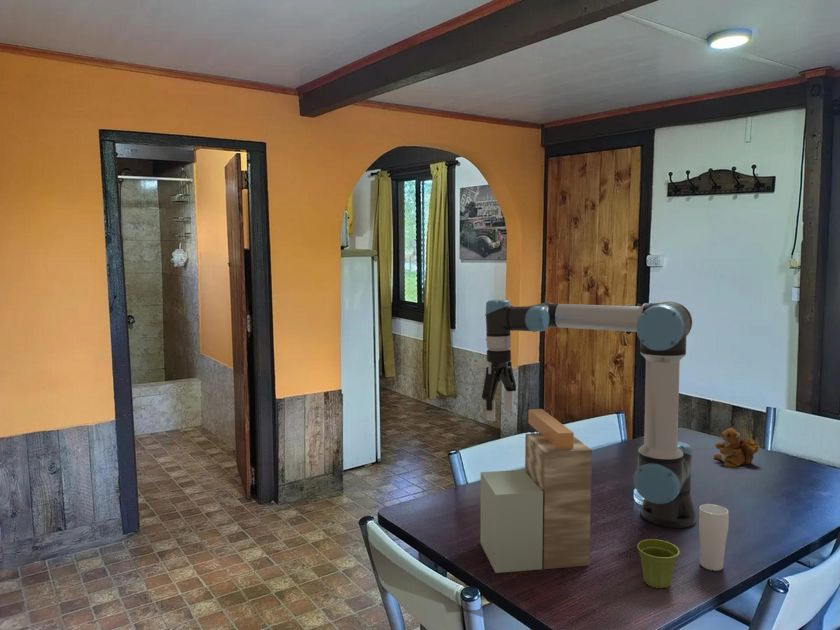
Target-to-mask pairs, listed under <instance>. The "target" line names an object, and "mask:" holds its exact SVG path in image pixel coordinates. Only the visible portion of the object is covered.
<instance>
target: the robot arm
mask: <svg viewBox="0 0 840 630" xmlns="http://www.w3.org/2000/svg"><path fill="white" fill-rule="evenodd" d="M485 324H486V325H485V326H486V328H485V329H486V330H485V331H486V335H485V336H486V338H485V341H486V349H487V350H486V361H487V362H488V363H490V364H491V365H490V366H486V368H485V378H484V383H483V384H484V385H483V389H482V394H481V398H482V400H483V401H484V400H485V412H486V413H485V414H486V415H485V418H486V419H485V420H486V421H489V422H495V421H496V399H494V398H495V395H496V392H497V388H498V384H499V382H502V384H503V386H504V389H505V390H504V411H505V412H511V413H512V412H514V392H516V391H517V384H516V380H515V375H514V372H513V367H512V366H513V365H512V352H511V351H512V350H511V347H512V345H511V344H512V342H511V331H512V332H514V331H517V332H522V331H523V332H533V333H536V332H545V331H546V330H547V329H548V328H563V329H564V328H566V329H567V328H568V329H578V330H579V329H580V330H581V329H583V330H598V331H616V332H636V335H637V337H638V339H639V341H640V342H639V353H640V354H641V356H642V357H643V358H644V359H645V385H644V387H645V388H644V390H645V391H644V395H645V396H644V435H643V439H644V440H643V441H644V442H643V444H642V445H641V446H639V448H638V451H637V452H638V455H637V469H636V470H635V473H634V476H633V484H634V488H635V490H636V491H637V493H638V494H639V495H640V496H641V497H642V498H643V502H642V503H641V509H640V511H641V512H640V513H641V514H640V515H641V516H642V518H643V519H644V520H646V521H647V522H649V523H652V524H654V525H657V526H661V527H664V528H670V529H671V528H674V529H683V528H689V527H693V526H694V525H695V524H696V522H697V513H696V512H697V511H696V509H695V507H694V506H695V505H694V503H693V499H692V494H691V488H692V487H691V486H692V464H693V462H692V458H693V450H692V446H691V445H690V444H688V443H686V442H683V441H678V440H679V438H678V437H679V436H678V434H679V405H680V404H679V402H680V401H679V399H680V398H679V397H680V364H681V363H680V361H681V360H682V359H683V358H684V357H685V356H686V355H687V337H688V336H689V334H690V332H691V329H692V327H693V317H692V315H691V312H690V311H689V309H688V308H686V307H685V306H684V305H683V304H680V303H678V302H676V301H664V302H653V303H652V302H651V303H649V302H645V303H643V304H642V305H640V306H639V305H612V304H611V305H610V304H609V305H605V304H604V305H603V304H577V303H576V304H573V303H571V304H570V303H553V302H548V301H547V302H542V303H538V304H533V305H528V306H527V305H526V306H525V305H524V306H522V305H521V306H513V305H511V303H510V300H508V299H490V300H488V301H486V304H485Z"/></svg>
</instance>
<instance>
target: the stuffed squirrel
mask: <svg viewBox="0 0 840 630" xmlns="http://www.w3.org/2000/svg"><path fill="white" fill-rule="evenodd" d="M740 436H741V433H740V432H738V431H737V430H736V429H734V427H730V428H727V429H725V430H724V431H722V432H721V434H720V435H719V436H718V439H719V440H720V439H721V440H722V442H716V443H715V448H716V449H717V450H719V453H720V454H719V453H717V454H714V455H713V459H714V460H718V461H722V462H723V465H724V467H726V468H737V467H739V466H741V465H748V464H750V463H751V462H753V460H754V458H755V457H754V455H755V454H756V453H758V452H759V450H760V447H761V446H760V445H759V443H757V441H756V440H754V439H753V438H749V437H747V438H746V437H744V438H741V439H740V440H739V437H740Z"/></svg>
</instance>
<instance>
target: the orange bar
mask: <svg viewBox="0 0 840 630" xmlns="http://www.w3.org/2000/svg"><path fill="white" fill-rule="evenodd" d="M527 420H528V424H529V425H530V426H531V427H532V428H533V429H535V431H536V432H537V433H540V434H541V435H543V436H544V437H545V438H546V439H547V440H548V441H549V442H550V443H552V444H553V445H554V446H555V447H556V448H557V449H570V448H573V440H574V437H575V435H574V432H573V431H572V430H570V429H569V428H568V427H567V426H565V425H564V424H563V423H561V422H560V420H558V419H556V418H555V417H553V416H552V415H551V414H549V413H548V412H547V411H545V409H543V408H535V409H528V419H527Z"/></svg>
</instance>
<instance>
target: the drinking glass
mask: <svg viewBox="0 0 840 630" xmlns="http://www.w3.org/2000/svg"><path fill="white" fill-rule="evenodd" d="M729 513H730V512H729V510H728V508H726V507H724V506H722V505H718V504H713V503H704V504H701V505H700V506H699V507H698V537H699V564H700V565H701V567H703V568H704V569H706V570H707V571H712V570H713V571H715V572H717V571H722V569H723V568H724V562H725V554H726V553H725V552H726V546H727V538H728V532H729V524H730V523H729V520H730V519H729V517H730V515H729Z"/></svg>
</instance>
